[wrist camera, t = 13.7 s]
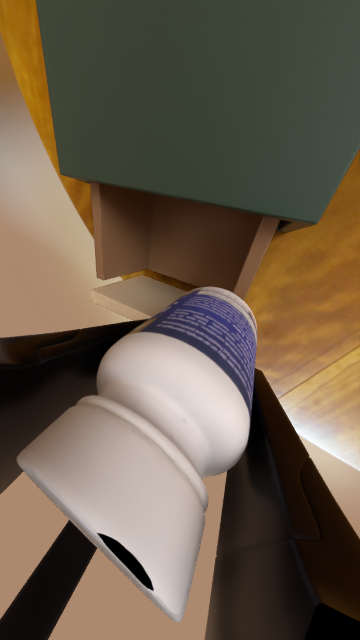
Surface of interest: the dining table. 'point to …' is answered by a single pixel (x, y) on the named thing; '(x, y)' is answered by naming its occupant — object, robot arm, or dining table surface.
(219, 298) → the pill bottle
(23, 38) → the dining table surface
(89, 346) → the robot arm
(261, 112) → the cabinet
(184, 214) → the drawer
